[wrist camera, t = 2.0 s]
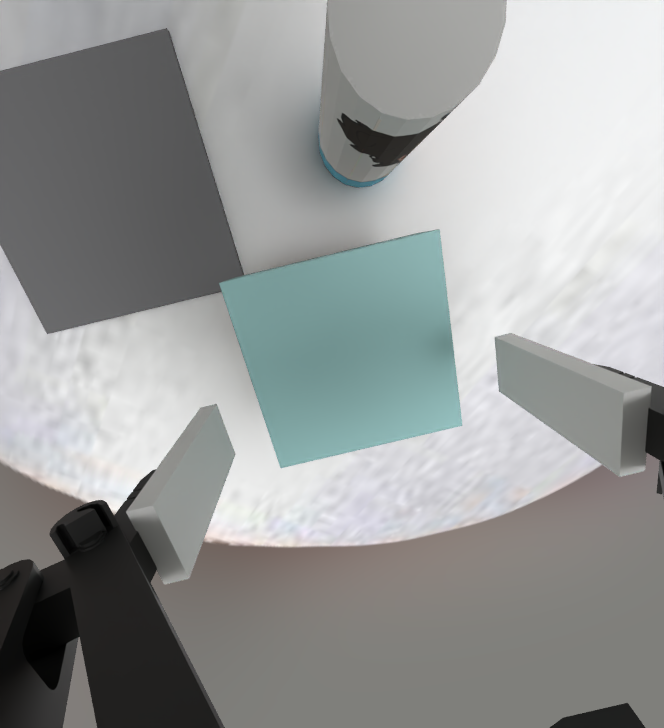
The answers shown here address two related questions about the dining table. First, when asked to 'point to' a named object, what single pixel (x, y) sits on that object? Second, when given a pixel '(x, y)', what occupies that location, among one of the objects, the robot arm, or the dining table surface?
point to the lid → (349, 347)
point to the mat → (108, 185)
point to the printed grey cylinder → (397, 76)
